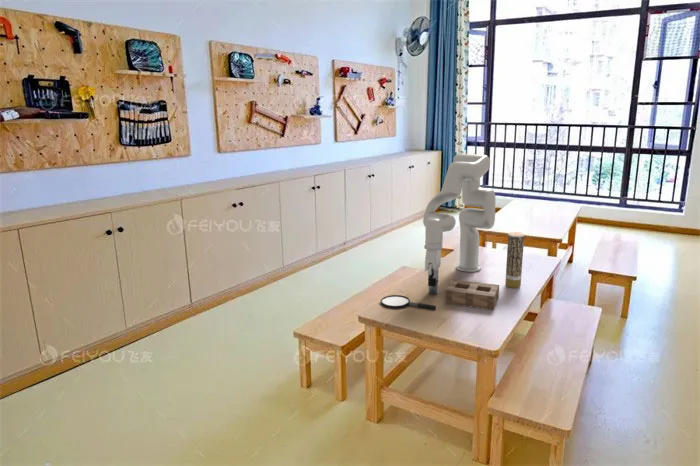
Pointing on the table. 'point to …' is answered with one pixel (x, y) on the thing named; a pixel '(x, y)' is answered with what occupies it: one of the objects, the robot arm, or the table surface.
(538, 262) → the table surface
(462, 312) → the table surface
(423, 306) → the magnifying glass
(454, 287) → the brown rectangular block
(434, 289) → the steel pin
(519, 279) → the bark pattern cylinder
